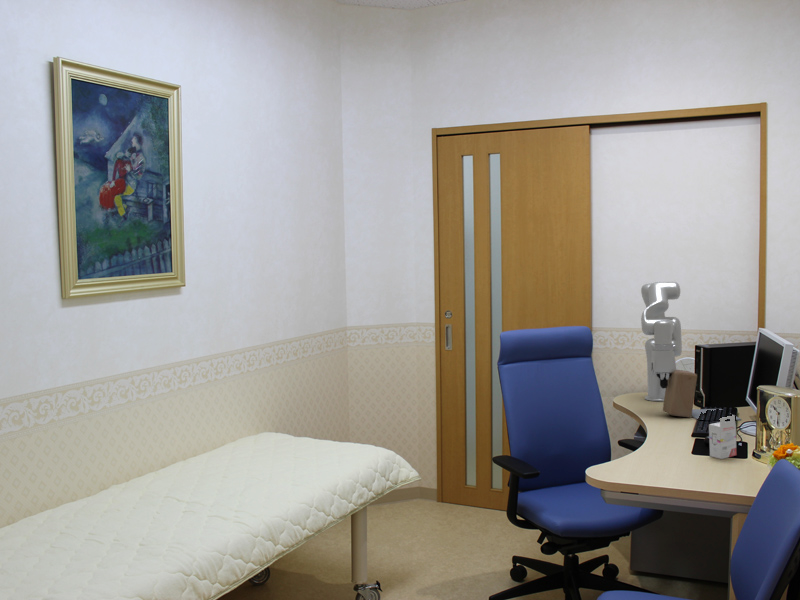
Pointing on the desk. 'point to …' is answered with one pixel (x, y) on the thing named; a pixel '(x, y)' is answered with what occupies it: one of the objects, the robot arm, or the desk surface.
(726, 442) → the ink cartridge box
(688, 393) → the wooden block
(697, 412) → the mat
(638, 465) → the desk surface
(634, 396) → the desk surface
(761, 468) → the desk surface
